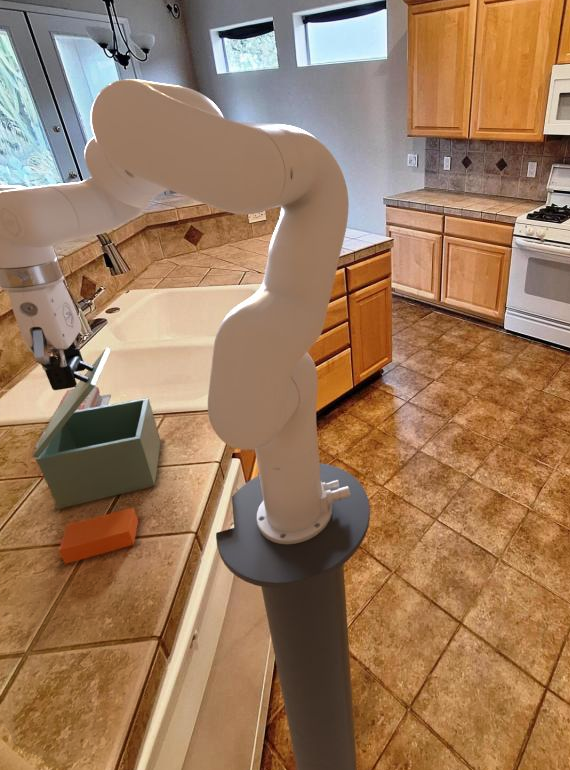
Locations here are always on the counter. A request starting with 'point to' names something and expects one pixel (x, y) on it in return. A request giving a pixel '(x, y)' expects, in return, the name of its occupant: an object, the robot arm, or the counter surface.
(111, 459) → the bin
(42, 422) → the counter surface
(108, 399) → the packaged product
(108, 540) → the block
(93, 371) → the bin lid
